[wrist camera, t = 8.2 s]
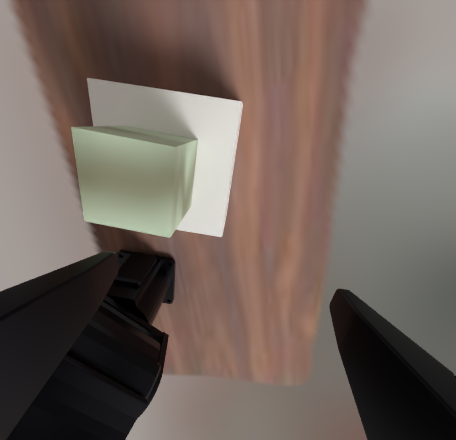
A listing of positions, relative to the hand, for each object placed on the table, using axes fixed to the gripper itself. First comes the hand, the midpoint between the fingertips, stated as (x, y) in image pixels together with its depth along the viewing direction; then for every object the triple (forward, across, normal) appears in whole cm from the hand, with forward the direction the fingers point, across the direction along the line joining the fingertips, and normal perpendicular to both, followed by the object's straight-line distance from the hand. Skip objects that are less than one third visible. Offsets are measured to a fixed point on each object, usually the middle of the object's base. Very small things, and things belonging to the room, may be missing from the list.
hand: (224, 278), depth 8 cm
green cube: (+8, +6, -2) cm, 10 cm away
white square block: (+12, +6, -2) cm, 14 cm away
